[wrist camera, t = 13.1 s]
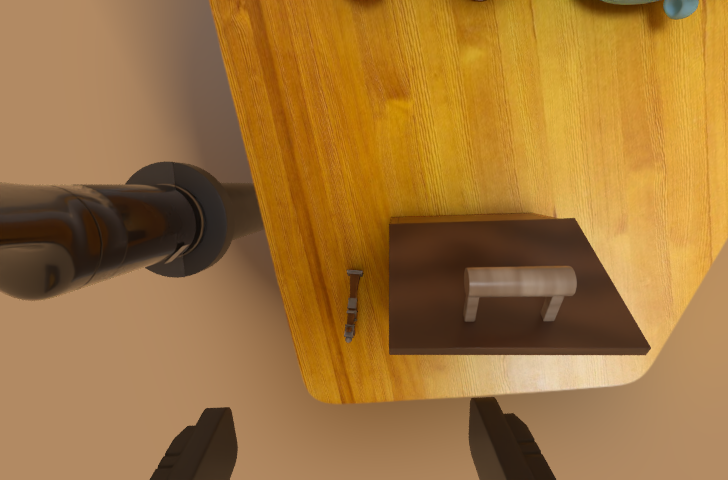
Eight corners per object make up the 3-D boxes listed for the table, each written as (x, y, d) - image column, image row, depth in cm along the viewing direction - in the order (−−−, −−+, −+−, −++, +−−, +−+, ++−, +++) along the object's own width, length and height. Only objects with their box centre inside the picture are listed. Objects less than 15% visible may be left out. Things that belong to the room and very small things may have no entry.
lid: (646, 355, 23) (687, 300, 20) (389, 355, 24) (386, 303, 21) (572, 225, 32) (591, 172, 29) (389, 230, 34) (387, 180, 30)
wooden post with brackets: (343, 342, 45) (339, 341, 41) (350, 276, 47) (346, 269, 43) (358, 343, 45) (355, 343, 41) (364, 277, 47) (362, 270, 43)
